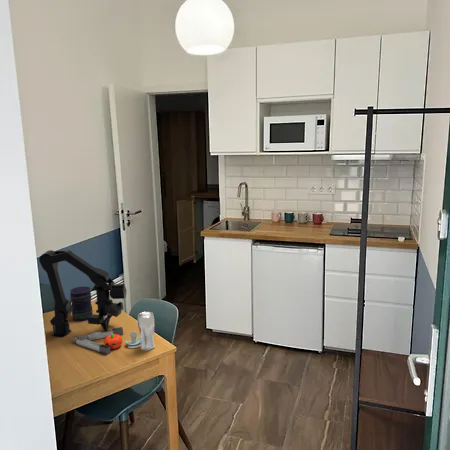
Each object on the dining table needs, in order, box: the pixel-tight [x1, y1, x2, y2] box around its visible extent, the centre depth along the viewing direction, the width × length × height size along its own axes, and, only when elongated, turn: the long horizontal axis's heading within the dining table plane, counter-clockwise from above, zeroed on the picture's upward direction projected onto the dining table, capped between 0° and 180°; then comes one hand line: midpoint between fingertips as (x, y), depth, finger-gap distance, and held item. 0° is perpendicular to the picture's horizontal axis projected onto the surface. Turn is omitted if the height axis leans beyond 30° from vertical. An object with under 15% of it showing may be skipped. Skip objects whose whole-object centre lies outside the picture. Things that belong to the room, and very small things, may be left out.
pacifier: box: [125, 330, 141, 349], centre depth 179 cm, size 7×6×6 cm
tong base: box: [72, 335, 111, 356], centre depth 178 cm, size 22×2×3 cm, turn 59°
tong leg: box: [78, 326, 124, 341], centre depth 188 cm, size 19×2×3 cm, turn 113°
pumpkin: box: [103, 334, 123, 350], centre depth 179 cm, size 7×8×6 cm
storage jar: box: [69, 286, 94, 323], centre depth 208 cm, size 10×10×15 cm
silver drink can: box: [137, 311, 156, 352], centre depth 177 cm, size 7×7×15 cm
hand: (105, 330), depth 193 cm, fingers closed
